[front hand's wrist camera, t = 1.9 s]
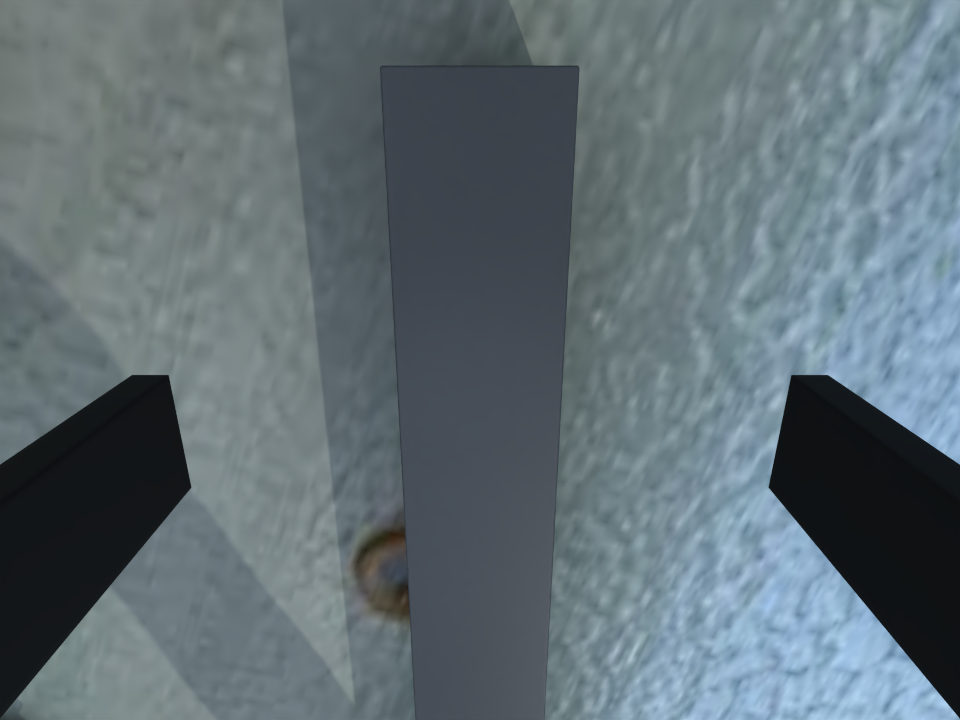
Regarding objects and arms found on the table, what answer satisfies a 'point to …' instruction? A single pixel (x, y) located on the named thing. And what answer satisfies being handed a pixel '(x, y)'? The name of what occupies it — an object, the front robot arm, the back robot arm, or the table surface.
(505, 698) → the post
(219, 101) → the table surface
